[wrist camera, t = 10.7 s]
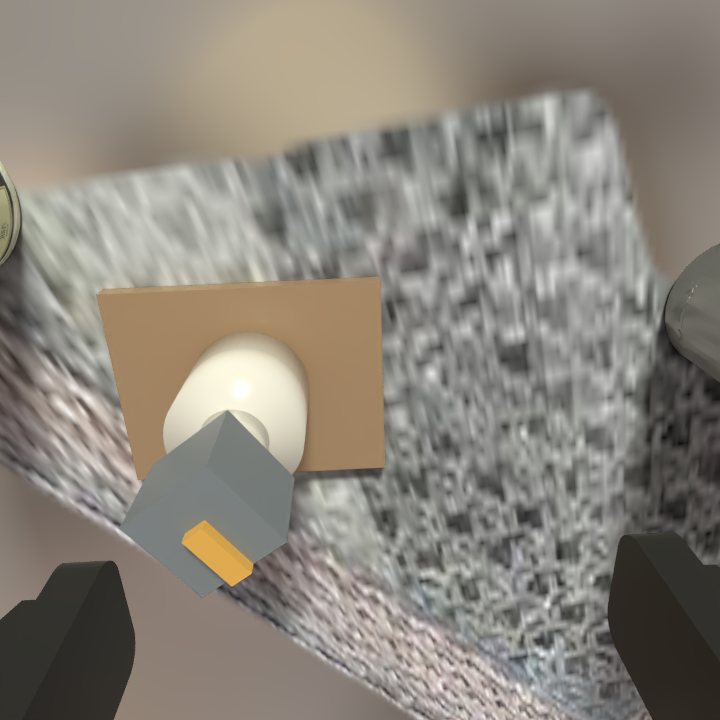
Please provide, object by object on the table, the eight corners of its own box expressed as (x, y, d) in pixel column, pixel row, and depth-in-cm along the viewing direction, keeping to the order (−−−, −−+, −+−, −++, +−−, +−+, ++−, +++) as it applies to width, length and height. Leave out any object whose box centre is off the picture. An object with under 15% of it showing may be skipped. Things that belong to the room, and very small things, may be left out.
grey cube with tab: (152, 464, 30) (114, 537, 25) (227, 409, 29) (203, 473, 24) (221, 527, 32) (199, 607, 27) (294, 477, 31) (285, 551, 26)
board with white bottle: (379, 276, 38) (393, 336, 28) (383, 458, 44) (397, 562, 34) (103, 289, 38) (17, 353, 28) (142, 470, 43) (83, 579, 33)
